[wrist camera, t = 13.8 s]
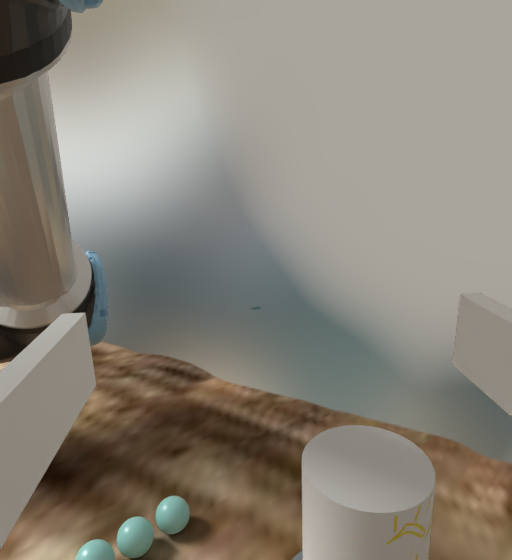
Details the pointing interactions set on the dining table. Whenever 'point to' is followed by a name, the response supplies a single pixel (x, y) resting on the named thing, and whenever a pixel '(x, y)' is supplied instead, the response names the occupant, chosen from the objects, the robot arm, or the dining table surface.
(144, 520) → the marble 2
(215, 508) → the dining table surface
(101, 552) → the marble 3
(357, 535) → the cup
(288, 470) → the dining table surface
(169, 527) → the marble
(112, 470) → the dining table surface
